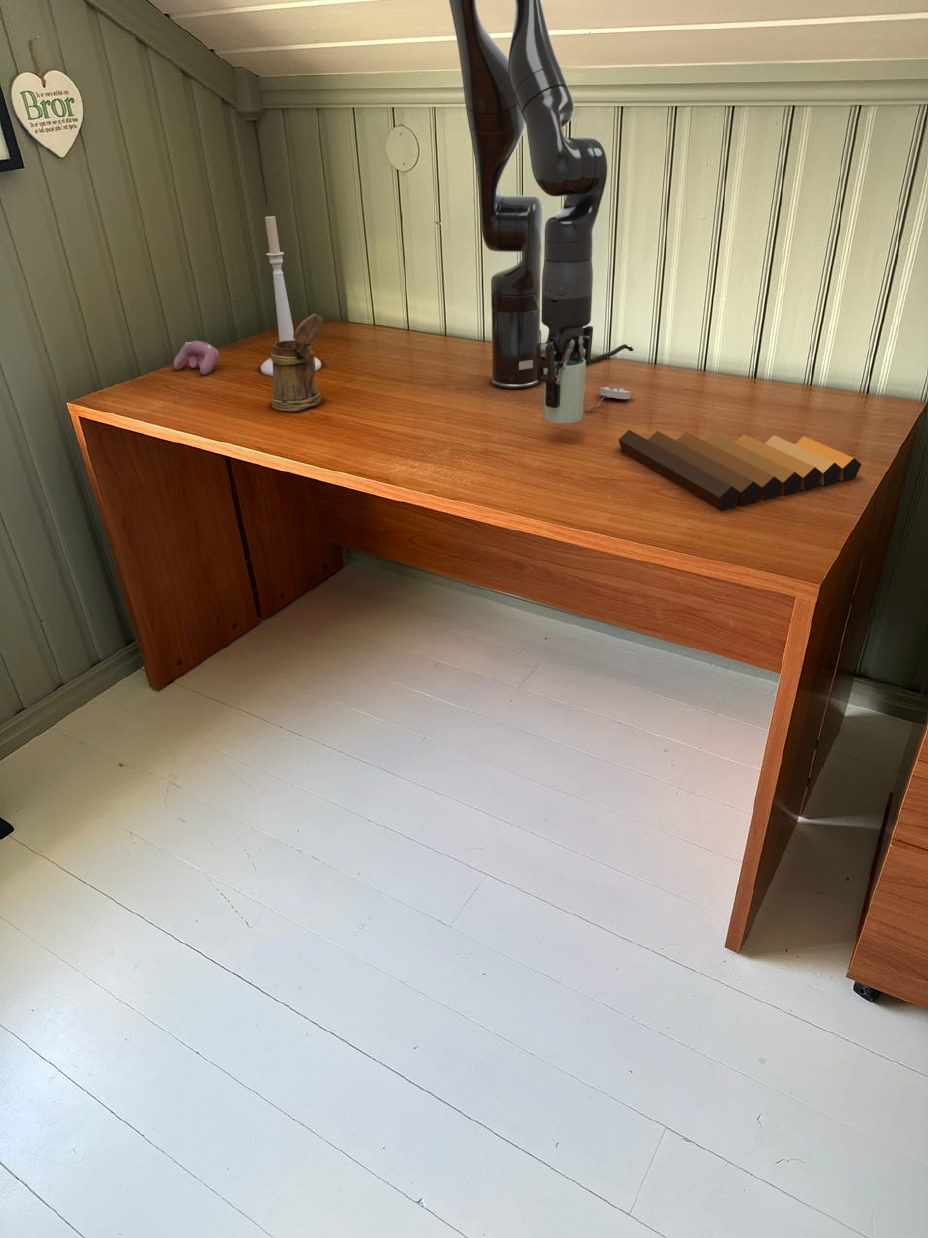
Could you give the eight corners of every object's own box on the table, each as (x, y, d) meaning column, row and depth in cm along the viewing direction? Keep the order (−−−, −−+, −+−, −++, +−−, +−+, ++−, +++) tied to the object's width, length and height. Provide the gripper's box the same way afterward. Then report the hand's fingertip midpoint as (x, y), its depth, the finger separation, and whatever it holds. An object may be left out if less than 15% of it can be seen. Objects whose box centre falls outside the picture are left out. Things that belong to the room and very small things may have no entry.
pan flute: (617, 452, 133) (717, 511, 114) (619, 431, 132) (720, 488, 112) (744, 426, 141) (858, 477, 122) (747, 406, 140) (863, 455, 120)
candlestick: (333, 363, 182) (315, 211, 166) (294, 379, 173) (272, 219, 157) (288, 356, 188) (267, 208, 172) (248, 371, 179) (222, 217, 163)
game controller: (633, 395, 157) (634, 381, 156) (619, 415, 148) (620, 400, 147) (603, 392, 159) (604, 379, 158) (587, 412, 150) (588, 398, 149)
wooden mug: (307, 420, 151) (293, 316, 142) (263, 405, 159) (247, 306, 150) (345, 407, 157) (334, 306, 147) (300, 393, 165) (287, 297, 155)
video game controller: (218, 379, 181) (224, 345, 179) (202, 374, 177) (207, 340, 176) (187, 373, 185) (192, 340, 184) (170, 368, 181) (175, 335, 180)
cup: (555, 408, 140) (557, 353, 135) (590, 414, 137) (592, 358, 132) (536, 419, 135) (536, 362, 131) (571, 425, 132) (573, 368, 127)
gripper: (568, 280, 132) (564, 385, 141) (520, 297, 123) (519, 409, 132) (611, 284, 129) (605, 392, 138) (565, 302, 119) (561, 417, 128)
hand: (563, 400), depth 135 cm, fingers closed on cup, 6 cm apart
